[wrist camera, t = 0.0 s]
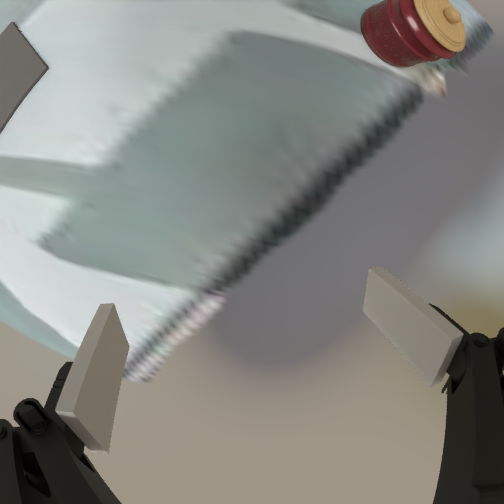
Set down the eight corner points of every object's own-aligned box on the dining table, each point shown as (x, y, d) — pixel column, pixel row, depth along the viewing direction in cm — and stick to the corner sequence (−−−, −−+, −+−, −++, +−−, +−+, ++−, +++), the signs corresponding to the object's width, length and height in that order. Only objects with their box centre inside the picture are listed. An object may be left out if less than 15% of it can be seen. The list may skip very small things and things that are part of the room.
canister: (414, 78, 36) (488, 70, 20) (358, 53, 33) (431, 24, 17) (413, 25, 32) (477, 6, 15) (358, -3, 29) (419, -40, 13)
